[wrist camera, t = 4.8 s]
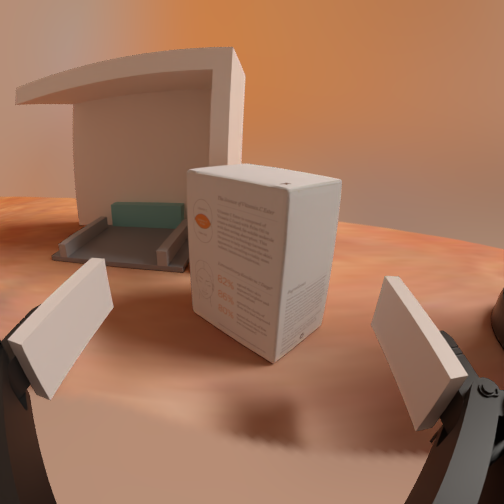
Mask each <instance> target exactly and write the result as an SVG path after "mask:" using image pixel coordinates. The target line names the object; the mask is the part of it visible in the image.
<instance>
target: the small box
mask: <svg viewBox="0 0 504 504" xmlns="http://www.w3.org/2000/svg"><path fill="white" fill-rule="evenodd" d="M341 187H342V181H341V180H340V179H336V178H331V177H326V176H321V175H315V174H309V173H304V172H299V171H293V170H286V169H281V168H274V167H267V166H260V165H253V164H235V165H224V166H213V167H203V168H195V169H189V170H188V171H187V218H188V242H189V261H190V277H191V291H192V305H193V311H194V312H195V313H196V314H198V315H199V316H201V317H202V318H204V319H205V320H207V321H208V322H210V323H211V324H213V325H214V326H215V327H217V328H218V329H220V330H221V331H223V332H224V333H226V334H227V335H229V336H230V337H232V338H233V339H235V340H236V341H238V342H239V343H241V344H242V345H244V346H246V347H247V348H249V349H250V350H252V351H254V352H255V353H257V354H258V355H260V356H262V357H263V358H265V359H266V360H268V361H270V362H271V363H275V362H276V361H278V360H279V359H280V358H281V357H283V356H284V355H285V354H286V353H288V352H289V351H290V350H292V349H293V348H294V347H295V346H296V345H298V344H299V343H300V342H301V341H303V340H304V339H305V338H306V337H307V336H308V335H310V334H311V333H312V332H313V331H315V330H316V329H317V328H318V327H319V326H321V324H322V319H323V314H324V308H325V303H326V298H327V292H328V286H329V280H330V274H331V267H332V261H333V254H334V247H335V240H336V232H337V225H338V217H339V207H340V198H341Z"/></svg>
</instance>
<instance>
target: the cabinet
mask: <svg viewBox="0 0 504 504" xmlns="http://www.w3.org/2000/svg"><path fill="white" fill-rule="evenodd" d="M244 91H245V74H244V72H243V69H242V67H241V65H240V62H239V60H238V58H237V55H236V53H235V50H234V48H233V47H209V48H191V49H179V50H169V51H161V52H152V53H145V54H138V55H132V56H126V57H121V58H116V59H111V60H107V61H102V62H97V63H93V64H89V65H85V66H81V67H77V68H74V69H70V70H67V71H63V72H60V73H57V74H54V75H50V76H48V77H45V78H42V79H39V80H36V81H33V82H31V83H28V84H25V85H23V86H20V87H17V88H16V100H15V105H24V104H73V159H74V175H75V189H76V200H77V209H78V217H79V225H86V226H85V227H83V228H82V229H80V230H79V231H77V232H76V233H74V234H73V235H71V236H70V237H68V238H67V239H65V240H64V241H62V242H61V243H59V244H58V245H59V251H58V252H56V253H55V254H53V255H52V260H57V261H66V262H75V263H86V262H87V261H88V260H90V259H91V258H101V259H105V265H106V266H115V267H126V268H137V269H148V270H160V271H172V272H183V271H184V270H185V268H186V266H187V264H188V262H189V242H188V218H187V171H188V170H189V169H195V168H203V167H213V166H224V165H235V164H241V157H242V132H243V112H244Z"/></svg>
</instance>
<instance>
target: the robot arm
mask: <svg viewBox="0 0 504 504" xmlns="http://www.w3.org/2000/svg"><path fill="white" fill-rule="evenodd" d="M112 309H113V302H112V297H111V292H110V287H109V282H108V277H107V271H106V265H105V259H101V258H91V259H90V260H88V261H87V262H86V263H85V264H84V265H83V266H82V267H81V268H79V269H78V270H77V271H76V272H75V273H74V274H73V275H72V276H71V277H70V278H68V279H67V280H66V281H65V282H64V283H63V284H62V285H61V286H60V287H59V288H58V289H57V290H56V291H55V292H54V293H52V294H51V295H50V296H49V297H48V298H47V299H46V300H45V301H44V302H43V303H42V304H40V305H39V306H37V307H35V308H34V309H32V310H31V311H30V312H29V313H28V314H27V315H26V316H25V318H23V319H22V320H21V321H20V323H18V324H17V325H16V326H15V327H14V328H13V329H12V330H11V331H10V333H9V334H8V335H7V336H6V337H5V338H4V339H3V340H2V341H1V340H0V504H56V501H55V498H54V495H53V493H52V489H51V486H50V483H49V481H48V477H47V474H46V470H45V467H44V463H43V459H42V456H41V452H40V448H39V444H38V439H37V435H36V429H35V424H34V419H33V413H32V407H31V400H30V395H29V392H28V391H27V388H28V387H29V386H30V384H31V386H32V388H33V389H34V391H35V393H36V395H39V396H41V397H44V398H46V399H48V400H51V399H52V397H53V396H54V394H55V392H56V391H57V389H58V388H59V386H60V384H61V383H62V381H63V380H64V378H65V377H66V375H67V373H68V372H69V370H70V369H71V367H72V366H73V364H74V363H75V361H76V360H77V358H78V357H79V355H80V354H81V352H82V351H83V350H84V348H85V347H86V345H87V344H88V342H89V341H90V339H91V338H92V337H93V335H94V334H95V332H96V331H97V329H98V328H99V327H100V325H101V324H102V322H103V321H104V320H105V318H106V317H107V316H108V314H109V313H110V311H111V310H112ZM491 322H492V326H493V330H494V332H495V334H496V336H497V338H498V340H499V342H500V343H501V345H502V346H503V348H504V288H503V290H502V291H501V293H500V295H499V297H498V300H497V302H496V304H495V307H494V309H493V311H492V315H491ZM371 326H372V328H373V330H374V332H375V334H376V337H377V339H378V341H379V343H380V345H381V348H382V350H383V352H384V354H385V357H386V359H387V361H388V364H389V366H390V368H391V371H392V373H393V375H394V378H395V380H396V383H397V385H398V388H399V390H400V392H401V395H402V397H403V400H404V403H405V405H406V408H407V410H408V413H409V415H410V418H411V421H412V423H413V426H414V429H415V431H419V430H424V429H428V428H432V427H433V426H434V425H435V423H436V422H437V421H438V419H439V418H440V419H441V421H442V423H443V425H442V426H441V428H440V429H439V430H438V431H437V433H436V434H435V435H434V436H433V437H432V439H431V440H430V442H431V443H432V442H433V441H434V439H435V441H434V444H433V446H432V449H431V451H430V453H429V456H428V458H427V460H426V463H425V464H424V467H423V469H422V471H421V473H420V475H419V477H418V479H417V481H416V483H415V485H414V487H413V489H412V491H411V493H410V494H409V496H408V498H407V500H406V502H405V503H404V504H504V390H499V388H498V386H497V385H496V384H495V383H494V382H493V381H492V380H490V379H488V378H484V377H482V378H479V377H478V375H477V374H476V372H475V371H474V369H473V368H472V366H471V365H470V363H469V361H468V360H467V358H466V357H465V355H463V353H462V351H461V350H460V348H458V345H457V344H456V342H455V341H454V339H453V338H452V337H451V336H449V335H448V334H447V333H446V332H444V331H439V330H438V329H437V327H436V326H435V324H434V323H433V321H432V320H431V319H430V317H429V316H428V315H427V313H426V312H425V310H424V309H423V308H422V306H421V305H420V304H419V302H418V301H417V300H416V298H415V297H414V296H413V294H412V293H411V292H410V290H409V289H408V288H407V286H406V285H405V284H404V283H403V281H402V280H401V279H400V277H399V276H385V277H384V281H383V284H382V288H381V292H380V295H379V299H378V302H377V306H376V309H375V313H374V316H373V319H372V323H371Z"/></svg>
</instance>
